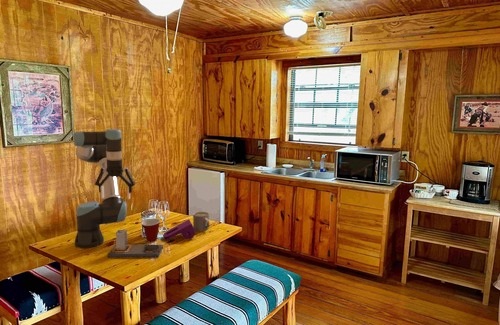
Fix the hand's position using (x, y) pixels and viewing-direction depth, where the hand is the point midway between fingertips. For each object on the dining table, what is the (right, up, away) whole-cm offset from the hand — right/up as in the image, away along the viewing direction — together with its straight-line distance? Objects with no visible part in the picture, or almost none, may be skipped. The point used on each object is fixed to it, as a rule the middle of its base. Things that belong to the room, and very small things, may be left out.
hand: (115, 198), depth 182 cm
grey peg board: (+10, -29, +2) cm, 31 cm away
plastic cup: (+13, -27, +19) cm, 36 cm away
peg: (+3, -29, +2) cm, 30 cm away
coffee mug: (+40, -24, +40) cm, 62 cm away
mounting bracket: (+28, -27, +26) cm, 47 cm away
